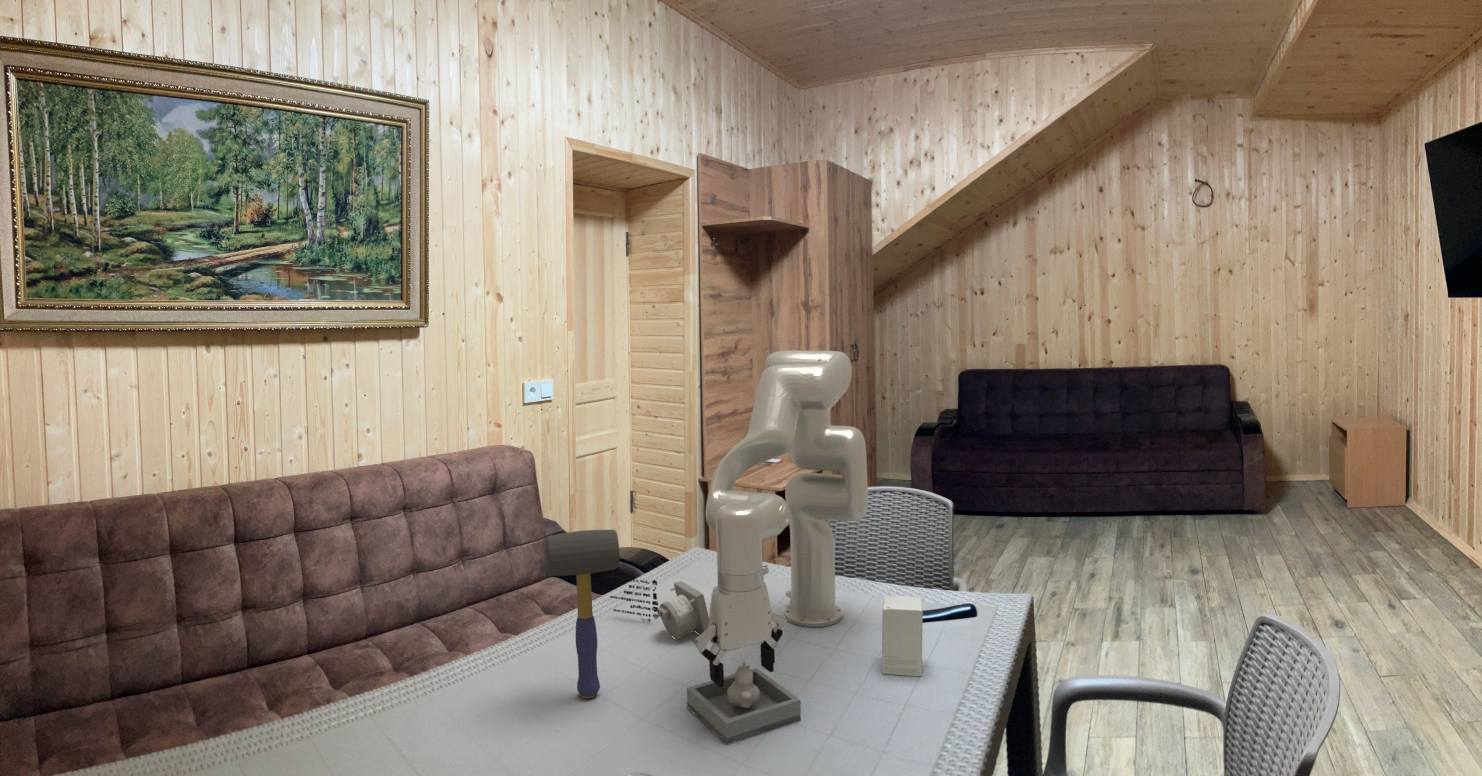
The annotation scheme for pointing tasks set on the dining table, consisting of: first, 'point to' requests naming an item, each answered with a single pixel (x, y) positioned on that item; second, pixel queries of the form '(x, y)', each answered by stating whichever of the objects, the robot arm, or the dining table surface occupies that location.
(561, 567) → the rubber mallet
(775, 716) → the tray
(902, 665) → the supplement box
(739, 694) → the beige rounded piece
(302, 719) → the dining table surface
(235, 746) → the dining table surface
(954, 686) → the dining table surface
